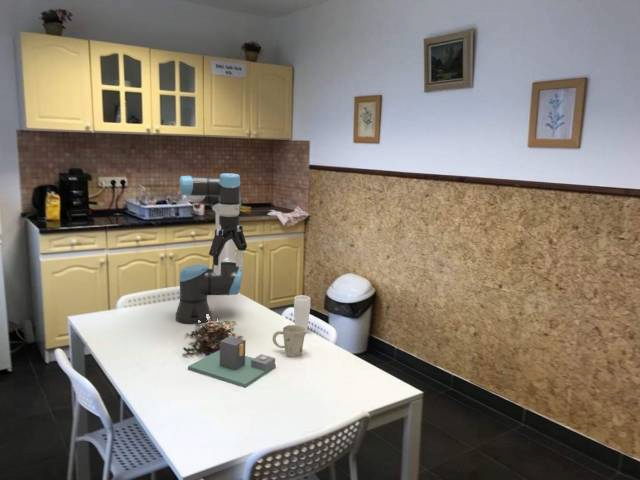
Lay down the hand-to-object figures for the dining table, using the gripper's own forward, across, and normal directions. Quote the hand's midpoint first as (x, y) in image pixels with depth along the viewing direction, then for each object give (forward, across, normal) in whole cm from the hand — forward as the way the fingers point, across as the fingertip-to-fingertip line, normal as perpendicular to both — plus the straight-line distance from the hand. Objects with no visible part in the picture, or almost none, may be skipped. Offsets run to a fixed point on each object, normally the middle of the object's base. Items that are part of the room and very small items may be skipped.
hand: (228, 270), depth 198 cm
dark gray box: (+28, -19, -17) cm, 38 cm away
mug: (+29, +3, -26) cm, 39 cm away
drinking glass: (+29, +25, -19) cm, 43 cm away
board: (+29, -19, -17) cm, 38 cm away
